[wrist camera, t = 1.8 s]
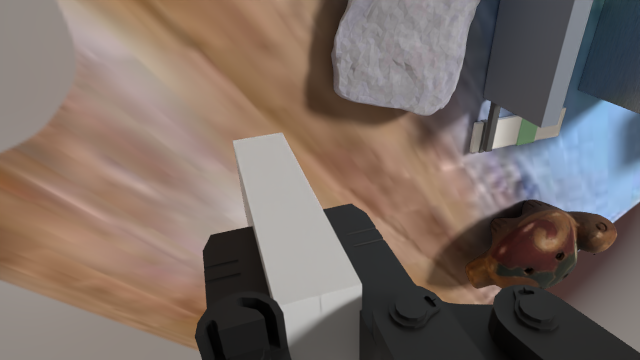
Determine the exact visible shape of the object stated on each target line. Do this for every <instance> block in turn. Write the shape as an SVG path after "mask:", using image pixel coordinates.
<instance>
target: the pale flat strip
mask: <svg viewBox="0 0 640 360" xmlns="http://www.w3.org/2000/svg"><path fill="white" fill-rule="evenodd" d="M565 111H566V108H565V107H562V111H561V114H560V117H559V121H558V124H557V125H554V126H548V127H543V128H540V127H538V126H536V125H534V124H532V123H531V122H529V121H527V120H525V119H523V118H521V117H519V116H517V115H513V116H508V117H502V118H498V123H497V127H496V132H495V137H494V142H493V147H492V149H494V148H499V147H504V146H509V145H514V144H515V145H522V144H527V143H532V142H534V141H535V140H540V139H545V138H550V137H555V136H558V135H559V131H560V128H561V124H562V121H563V118H564V114H565ZM487 121H488V120H486V119H485V120H481V121H480V122H474V127H473V133H472V139H471V144H470V150H469V151H470V152H471V153H474V152H479V153H481V152H484V150H483V149H482V148H483V143H484V137H485V132H486V127H487Z"/></svg>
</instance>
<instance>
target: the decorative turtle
mask: <svg viewBox="0 0 640 360" xmlns="http://www.w3.org/2000/svg"><path fill="white" fill-rule="evenodd" d="M490 227H491V233H492V240H493V242H492V246H491V247H490V249H489V250H488V251H486V252H485V253H483V254H482V255H480V256H479V257H477V258H476V259H474V260H473V261H471V262H470V263H468V264H467V265H466V267H465V268H466V274H467V276H468V279H469V281H470V283H471V284H472V285H473V287H475V288H477V289H478V288H483V287H486V286H490V285H496V286H499V287H500V288H502V289H503V288H506V287H509V286H512V285H530V286H533V287H537V288H541V289H546V288H549V287H551V286H553V285H555V284H556V283H559V282H560V281H562V280H563V279H564V278H565V277H567V276H568V275H569V274H570V273H571V272H572V271H573V269H574V267H575V265H576V261H577V251H578V250H579V249H580V250H584V251H587V252H591V253H597V252H602V251H604V250H606V249H607V248H608V247H610V245H612V243H613V242H614V241H615V239H616V236H617V232H616V228H615V226H614V224H613V223H612V222H611V221H609V220H608V219H606V218H604V217H603V216H601V215H598V214H592V213H586V212H574V211H572V212H566V211H563V210H561V209H559V208H557V207H554V206H552V205H550V204H547V203H544V202H541V201H538V200H528V201H526V202H525V203H524V205H523V208H522V215H521V216H520V217H518V218H496V219H494V220H493V221H492V223H491V226H490ZM594 255H595V254H594Z"/></svg>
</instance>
